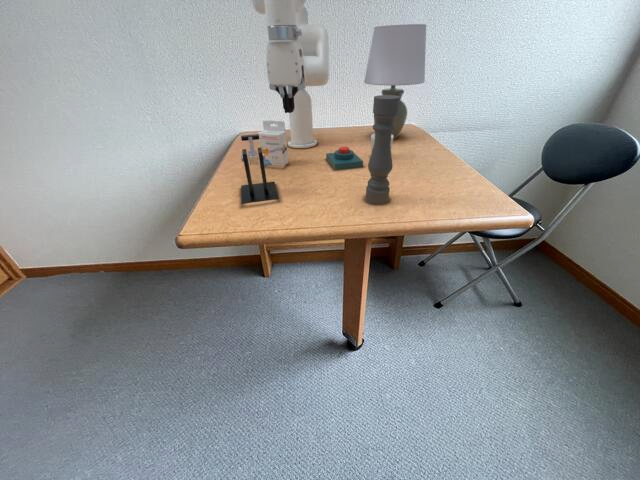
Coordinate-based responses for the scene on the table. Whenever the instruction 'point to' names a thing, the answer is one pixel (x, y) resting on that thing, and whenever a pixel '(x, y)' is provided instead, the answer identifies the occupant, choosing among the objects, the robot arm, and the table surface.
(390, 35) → the lamp
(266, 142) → the ink box
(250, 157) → the lever
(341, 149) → the button
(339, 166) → the button block
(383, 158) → the candle holder
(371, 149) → the cup
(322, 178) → the table surface
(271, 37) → the robot arm
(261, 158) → the bracket
